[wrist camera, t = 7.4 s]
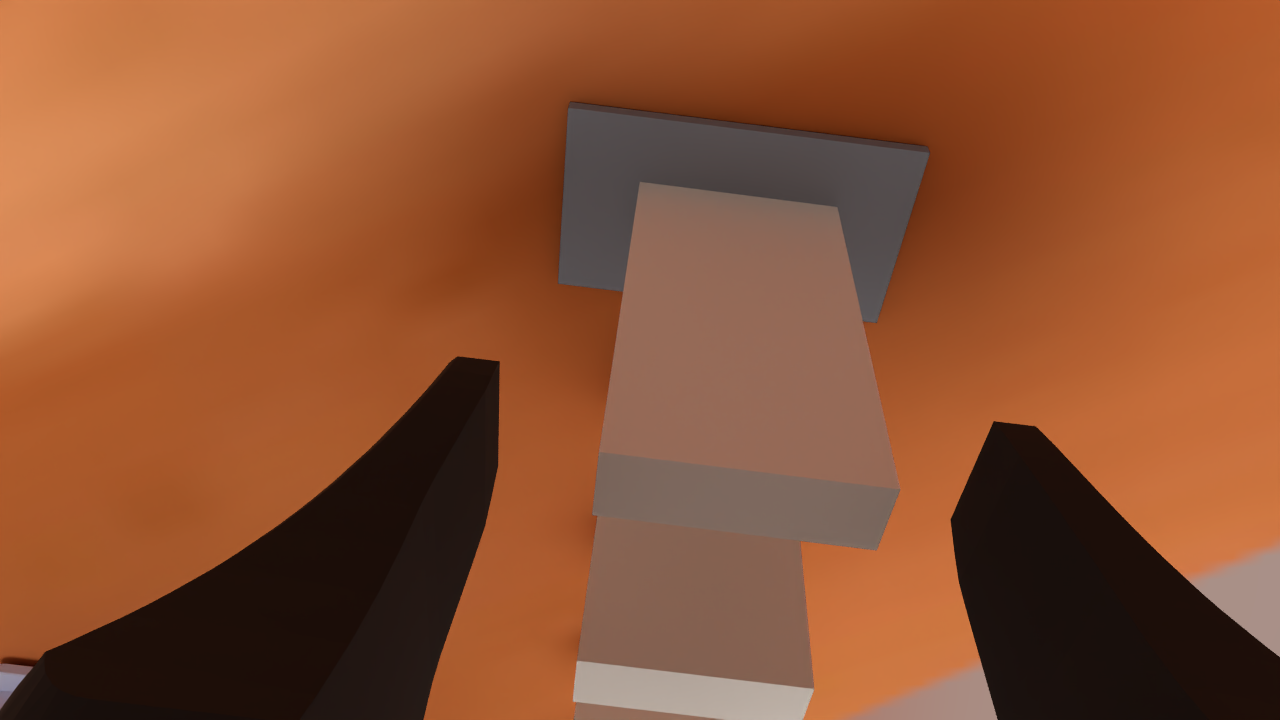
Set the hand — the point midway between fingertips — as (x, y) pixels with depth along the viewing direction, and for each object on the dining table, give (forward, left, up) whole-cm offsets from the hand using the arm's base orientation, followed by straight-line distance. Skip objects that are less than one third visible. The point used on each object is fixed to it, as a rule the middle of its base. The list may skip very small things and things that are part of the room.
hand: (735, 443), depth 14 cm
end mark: (0, 0, -7) cm, 7 cm away
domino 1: (0, 0, -7) cm, 7 cm away
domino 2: (0, -5, -7) cm, 9 cm away
